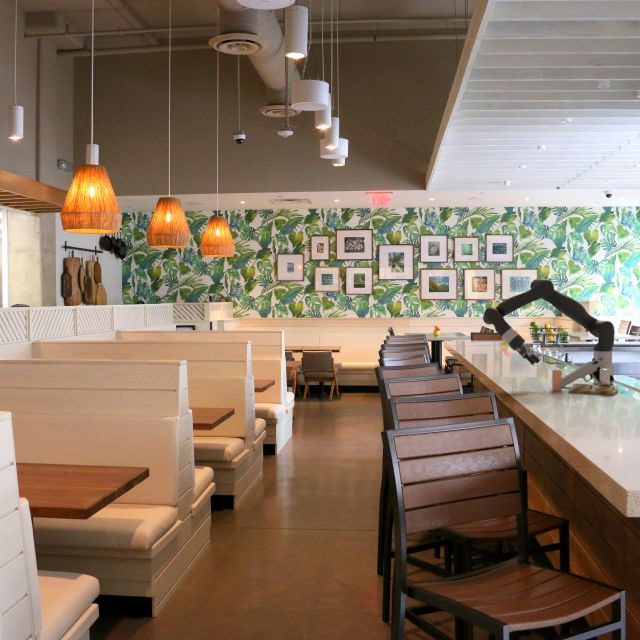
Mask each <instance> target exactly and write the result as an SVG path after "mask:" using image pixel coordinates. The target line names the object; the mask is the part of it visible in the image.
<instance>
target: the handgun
mask: <svg viewBox="0 0 640 640" xmlns="http://www.w3.org/2000/svg"><path fill="white" fill-rule="evenodd" d="M601 359H602V358H600V359H598V360H596V359H595V358H594V357H592V359H591V361H587V362H585V363H584V364H582V365H581V366H579V367H578V368H575V369H574V370H573V371H572V372H569V373H567V374H566V375H563V376H562V388H564V387H566V386H568V385H570V384H572V383H574V382H575V381H577V380H579V379H583V381H584V382H585V383H588V382H589V381H591V380H593V378H595V379H596V381H597V382H598V383H599V384H598V385H600V369H603V367H604V365H606V364H608V363H609V362H604V363H603V362H602V361H601ZM588 375H589V377H590V378H588V379H587V378H586V377H587V376H588ZM615 381H616V380H615V377H614V376H611V375H610V385H612V384H614V382H615ZM611 383H612V384H611Z"/></svg>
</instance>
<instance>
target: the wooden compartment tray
mask: <svg viewBox="0 0 640 640" xmlns="http://www.w3.org/2000/svg"><path fill="white" fill-rule="evenodd" d="M568 393H569V394H577V393H578V395H596V396H615V395H616V394H618V393H619V389H618V388H617V389H616V388H615V385H612V384H610V387H600V384H596V385H595V386H594V387H593V384H589V383H587V384H585V383H575V384H573V385H572V387H571V388H570V389H568Z"/></svg>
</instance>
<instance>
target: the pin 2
mask: <svg viewBox="0 0 640 640" xmlns="http://www.w3.org/2000/svg"><path fill="white" fill-rule="evenodd" d="M599 385H600V387H610V385H611V384H610V369H600V384H599Z"/></svg>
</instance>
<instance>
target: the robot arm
mask: <svg viewBox="0 0 640 640" xmlns="http://www.w3.org/2000/svg"><path fill="white" fill-rule="evenodd" d="M529 285H530V286H529V287H530V289H529V290H526V291H524V292H522V293H519V294H515V295H513V296H510V297H509V298H507V299H505V300H503V301H501V302H499V304H498V305H497V306H495V307H493V306H488V307H487V308H486V309H485V310H484V312H483V316H482V320H483V322H484V323H485V324H486V325H493V326H494V327H493V328H494V329H495V330H494V331H495V332H496V333H497V334H498V335H499V337H501V338H502V339H503V341H504V342H505V343H506V344H507V345H508V346H509V347H510V349H512V351H516V352H517V353H518V354H519V355H520V356H521V357H522V359H524V360H527V361H528V362H529V363H530V364H531V365H534V364H535V363H536V364H538V363H540V361H541V359H539V358H538V356H537V355H536V353H535V352H534V350H533V349H531V348H530V347H529V346H528V344H526V345H525V342H526V340H525V339H524V338H523V337H522V335H520V334H519V333H518V332H517V331H516V329H514V328H513V327H512V326H511V325H510V324H509V323H508V322H507V321H506V319H505V318H504V317H506V316H507V315H509V314H512V313H514V312H515V311H517V310H518V309H520V308H522V307H525V306H526V305H528V304H530V303H533V302H535V301H538V300H540V299H542V300H544V301H546V302H547V303H549V304H550V305H551V306H553V308H555V309H557V311H560V312H561V313H562V314H563V315H564V316H565V317H567V318H569V319H570V320H572V321H573V322H575V323H577V324H578V325H579V326H581V327H583V328H584V329H585V330H586V331H587V332H588V333H590V335H592V336H594V337H596V338H597V339H598V341H597V342H596V344H594V346H593V358H595V359H596V360H598V359H600V358H602V359H601V361H602V362H603V363H604V362H609V363H608V364H606V365H604V367H603V369H610V375H611V376H613V377H614V365H613V347H614V345H615V334H616V333H615V326H614V324H613V323H612V322H611V321H610V320H600V319H598V318H596V317H593V316H592V315H590V313H588V312H587V310H586V308H585V307H584V305H583V304H581V303H580V302H579V301H577V300H575V298H573V297H570V296H568V295H567V294H565V293H562V292H560V291H557V290H556V289H555V285H554V283H553V281H552V280H549V279H547V278H535V279H534V280H532V281H531V283H530V284H529ZM592 380H593V381H592V382H593V384H596V385H600V384H599V383H598V382H597V381H596V379H595V378H593V379H592ZM612 384H613V383H611V384H610V385H612Z"/></svg>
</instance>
